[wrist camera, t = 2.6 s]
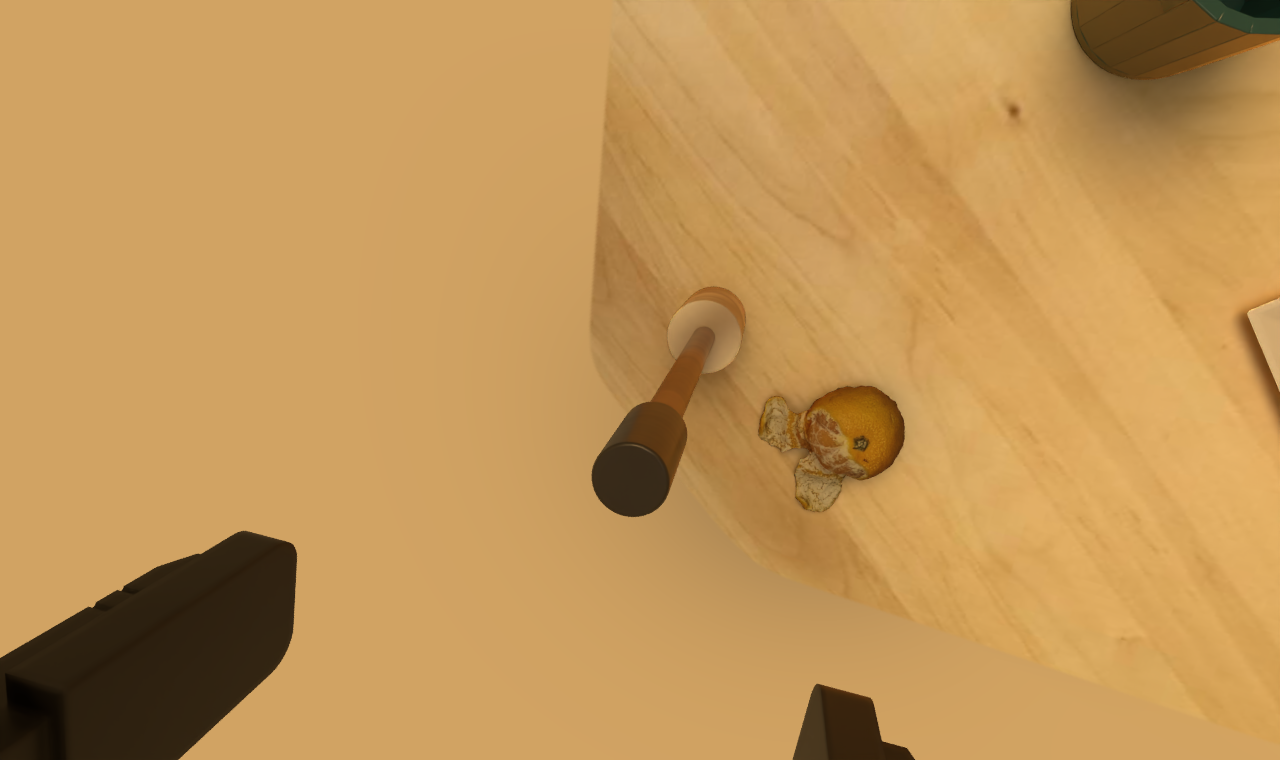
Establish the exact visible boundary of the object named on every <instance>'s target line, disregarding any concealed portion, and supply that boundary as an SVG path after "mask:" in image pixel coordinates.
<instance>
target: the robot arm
mask: <svg viewBox="0 0 1280 760" xmlns="http://www.w3.org/2000/svg"><path fill="white" fill-rule="evenodd" d="M296 564H297V553H296V549H295V547H294V545H293V544H291V543H289V542H286V541H282V540H278V539H274V538H271V537H267V536H263V535H259V534H256V533H252V532H248V531H241V532H238V533H236V534H234V535H232V536H230V537H229V538H227V539H225V540H224V541H222V542H220V543H219V544H217V545H215V546H214V547H212V548H211V549H209V550H207V551H205V552H204V553H202V554H195V555H192V556H189V557H186V558H183V559H180V560H177V561H173V562H170V563H167V564H164V565H161V566H159V567H156V568H154V569H153V570H151V571H149V572H147V573H146V574H144V575H142V576H141V577H139V578H137V579H135V580H134V581H132V582H130V583H129V584H127V585H125V586H124V588H123V590H122V591H119V590H117V591H115V592H113V593H111V594H110V595H108V596H106V597H104V598H103V599H101V600H99V601H97V602H96V604H95V606H94V607H93V608H91V607H87V608H85V609H84V610H82V611H80V612H79V613H77V614H75V615H74V616H72V617H70V618H68V619H67V620H65V621H63V622H62V623H60V624H58V625H56V626H54V627H53V628H51V629H49V630H48V631H46V632H44V633H42V634H41V635H39V636H37V637H36V638H34V639H32V640H31V641H29V642H27V643H25V644H24V645H22V646H20V647H18V648H17V649H15V650H13V651H11V652H10V653H8V654H6V655H5V656H3V657H1V658H0V760H178V759H180V758H181V757H182V756H183V755H184V754H185V753H186V752H187V751H188V750H189V749H190V748H191V747H192V746H194V745H195V744H196V743H197V742H198V741H199V740H200V739H201V738H202V737H203V736H204V735H205V734H206V733H207V732H208V731H209V730H211V729H212V728H213V727H214V726H215V725H216V724H217V723H218V722H219V721H220V720H221V719H223V718H224V717H225V716H226V715H227V714H228V713H229V712H230V711H231V710H232V709H233V708H234V707H235V706H237V704H239V703H240V702H241V701H242V700H243V699H244V698H245V697H246V696H247V695H248V694H249V693H251V692H252V691H253V690H254V689H255V688H256V687H257V686H258V685H259V684H260V683H261V682H262V681H263V680H264V679H266V678H267V677H268V676H269V675H270V674H271V673H272V672H273V671H274V670H275V669H276V667H277V666H278V665H279V663H280V662H281V660H282V659H283V657H284V655H285V653H286V651H287V649H288V647H289V644H290V641H291V638H292V633H293V624H294V603H295V585H296V584H295V583H296V566H297V565H296ZM793 760H915V759H914V758H913V756H912V755H911V753H910V752H909V751H908V749H907V748H905V747H901V746H897V745H894V744H890V743H886V742H883V741H882V740H881V736H880V731H879V726H878V722H877V717H876V712H875V708H874V704H873V701H872V699H871V698H869V697H865V696H861V695H858V694H854V693H850V692H846V691H843V690H839V689H835V688H831V687H828V686H824V685H820V684H816V685H815V687H814V689H813V691H812V694H811V697H810V700H809V704H808V707H807V711H806V715H805V718H804V721H803V725H802V728H801V732H800V736H799V739H798V743H797V746H796V750H795V753H794V757H793Z"/></svg>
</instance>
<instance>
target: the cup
mask: <svg viewBox="0 0 1280 760" xmlns="http://www.w3.org/2000/svg"><path fill="white" fill-rule="evenodd" d="M1071 13H1072V22H1073V27H1074V30H1075V33H1076V37H1077V39H1078V41H1079V43H1080V45H1081V47H1082V48H1083V49H1084V51H1085V52H1086V54H1087V55H1088V56H1089V57H1090V58H1091V59H1092V60H1093V61H1094V62H1095V63H1096V64H1098V65H1099V66H1100V67H1101V68H1103V69H1105V70H1107V71H1108V72H1110V73H1113V74H1115V75H1118V76H1121V77H1125V78H1130V79H1138V80H1151V79H1159V78H1165V77H1169V76H1172V75H1176V74H1179V73H1182V72H1186V71H1190V70H1193V69H1196V68H1199V67H1202V66H1205V65H1208V64H1211V63H1214V62H1217V61H1220V60H1223V59H1225V58H1228V57H1231V56H1234V55H1237V54H1240V53H1243V52H1246V51H1249V50H1252V49H1255V48H1258V47H1261V46H1264V45H1267V44H1270V43H1273V42H1276V41H1279V40H1280V0H1072V3H1071Z"/></svg>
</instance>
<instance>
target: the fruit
mask: <svg viewBox="0 0 1280 760" xmlns="http://www.w3.org/2000/svg"><path fill="white" fill-rule="evenodd" d="M904 430H905V429H904V419H903V417H902V415H901V412H900V411H899V410H898V408H897V404H896V402H895V401H893V400H891V399H890V398H889V396H887V395H886V394H884V393H883V392H882V391H880V390H878V389H877V388H875V387H872V386H859V387H856V388H852V387H844V388H839V389H837V390H835V391H833V392H830V393H827V394H826V395H825V396H824V397H822V398H819V399H817V400H816V401H815V402H814V403H813V405H812V406H811V409H810V410H807V411H804V412H802V413H799V414H795V413H793V412H792V411H791V410H790V409H789V408H788V407H787V405H786V401H785V400H784V398H782V397H779V396H774V397H771V398H769V399H768V401H767V402H766V406H765V410H764V413H763V414H762V417H761V419H760V428H759V431H758V432H759V437H760V438H761V439H762V440H764V441H766V442H768V443H769V444H770V445H771V446H776V447H778V448H779V449H780V450H781V452H784V451H786V450H790V449H792V448H807V449H808V450H809V455H808V456H807V457H806V458H805V459H800V462H799V465H798V467H797V469H796V474H794V475H795V478H796V490H797V491H796V499H797V500H799V501H800V503H801V504H802V505H803V507H804V508H805V509H806V510H811V511H813V512H815V511H817V512H823V511H825V510H827V509H828V508H830V507H831V506H832V505H833V503H834V501H835V500H836V499H837V498H838V496H839V493H840V492H841V487H842V485H841V481H842V479H843V478H844V477H845V475H847V476H850V477H852V478H854V479H857V480H865V479H869V478H871V477H874V476H876V475H878V474H879V473H882V472H883V471H884V470H885V469H887V468H889V467H890V466H891V465H892V464H893V462H894V460H895V458H896V457H897V455H898V454H899V452H900V450H901V448H902V447H903V442H904Z"/></svg>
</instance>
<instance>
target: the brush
mask: <svg viewBox="0 0 1280 760" xmlns="http://www.w3.org/2000/svg"><path fill="white" fill-rule="evenodd" d="M745 318H746V317H745V311H744V307H743V305H742V303H741V301H740V300H739V299H738V297H737V296H736V295H734V294H733V293H732V292H730V291H729V290H726V289H724V288H720V287H707V288H703V289H701V290H699V291H697V292H696V293H694V294H693V295H692V296H691V297H690V298H689V299H688V300H687V301H686V302H685V303H684V304H683V305H682V307H681V308H680V309H679V310H678V311H677V312H676V313H675V314H674V316H673V317H672V319H671V321H670V323H669V326H668V330H667V342H668V347H669V350H670V352H671V354H672V356H673V357H674V359H675V360H676V362H675V363H674V365H673V367H672V368H671V370H670V371H669V373H668V375H667V376H666V378H665V379H664V381H663V383H662V384H661V386H660V388H659V389H658V391H657V392H656V394H655V396H654V397H653V399H652V400H651V402H646V403H642V404H639V405H638V406H636V407H634V408H633V409H632V410H631V411H630V412H629V413H628V414H627V416H626V417H625V418H624V420H623V421H622V423H621V424H620V426H619V427H618V428H617V430H616V432H615V433H614V434H613V436H612V437H611V438H610V440H609V441H608V443H607V444H606V446H605V447H604V449H603V450H602V452H601V453H600V454H599V456H598V457H597V459H596V461H595V463H594V465H593V469H592V484H593V487H594V491H595V493H596V495H597V496H598V498H599V499H600V501H601V502H602V503H603V504H604V505H605V506H606V507H607V508H608V509H610V510H611V511H613V512H615V513H617V514H620V515H623V516H628V517H639V516H644V515H646V514H650V513H652V512H653V511H655V510H656V509H658V508H659V507H660V506H661V505H662V504H663V502H664V501H665V499H666V497H667V495H668V493H669V490H670V487H671V485H672V482H673V479H674V476H675V473H676V470H677V468H678V465H679V462H680V459H681V456H682V454H683V451H684V448H685V445H686V442H687V428H686V425H685V422H684V420H683V415H684V413H685V410H686V408H687V406H688V403H689V401H690V398H691V396H692V394H693V391H694V389H695V387H696V384H697V382H698V379H699V377H700V375H701V374H707V373H713V372H717V371H720V370H722V369H723V368H725V367H726V366H728V365H729V364H730V363H731V362H732V361H733V360H734V359H735V357H736V356H737V354H738V352H739V349H740V346H741V341H742V336H743V332H744V327H745Z"/></svg>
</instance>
